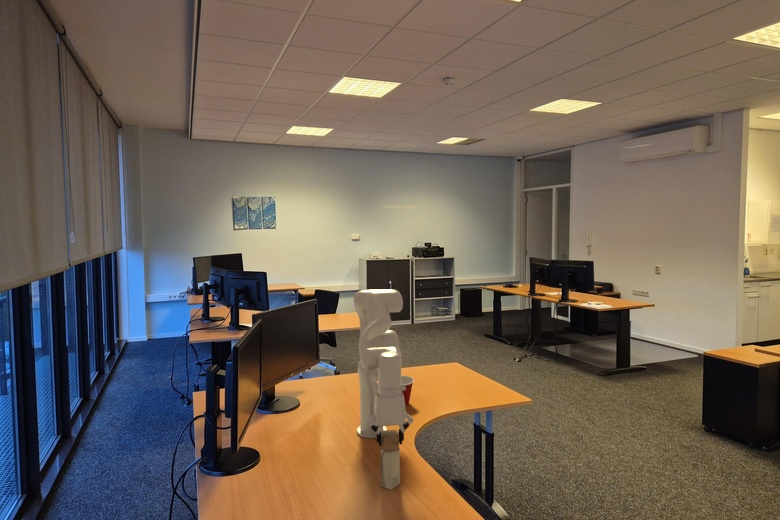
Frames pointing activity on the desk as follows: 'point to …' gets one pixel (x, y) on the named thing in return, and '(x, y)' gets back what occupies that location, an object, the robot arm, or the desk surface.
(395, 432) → the walnut cube
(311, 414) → the desk surface
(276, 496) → the desk surface
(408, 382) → the plastic cup
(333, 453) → the desk surface
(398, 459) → the box
